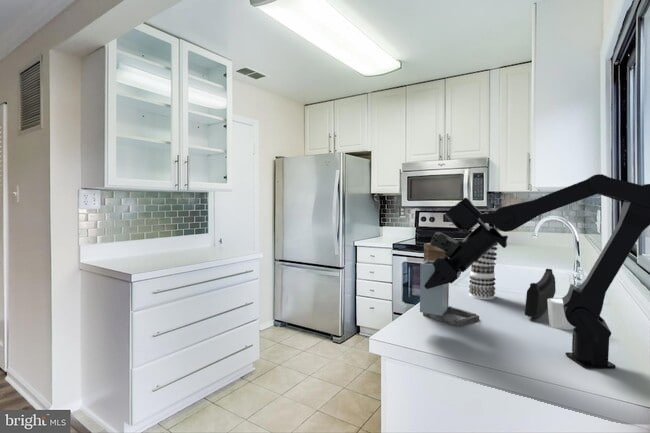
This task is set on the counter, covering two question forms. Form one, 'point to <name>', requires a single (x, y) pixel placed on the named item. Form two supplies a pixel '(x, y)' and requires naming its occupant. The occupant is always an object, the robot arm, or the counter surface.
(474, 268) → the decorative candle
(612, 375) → the counter surface
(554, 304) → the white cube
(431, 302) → the sleeve
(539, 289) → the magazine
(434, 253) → the wooden c-shaped stand
